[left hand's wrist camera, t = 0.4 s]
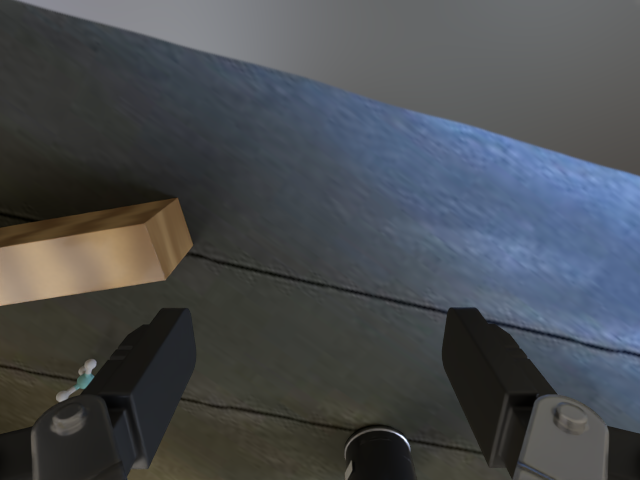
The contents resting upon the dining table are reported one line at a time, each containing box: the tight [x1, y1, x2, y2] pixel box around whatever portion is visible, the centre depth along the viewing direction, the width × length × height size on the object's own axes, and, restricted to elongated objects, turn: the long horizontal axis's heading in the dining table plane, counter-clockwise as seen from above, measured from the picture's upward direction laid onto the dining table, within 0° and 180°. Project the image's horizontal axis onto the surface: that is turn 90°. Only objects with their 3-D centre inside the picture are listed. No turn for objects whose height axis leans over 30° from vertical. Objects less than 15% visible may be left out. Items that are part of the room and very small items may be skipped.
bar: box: [0, 198, 193, 306], centre depth 37 cm, size 26×6×8 cm, turn 100°
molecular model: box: [56, 359, 96, 402], centre depth 45 cm, size 12×10×10 cm
